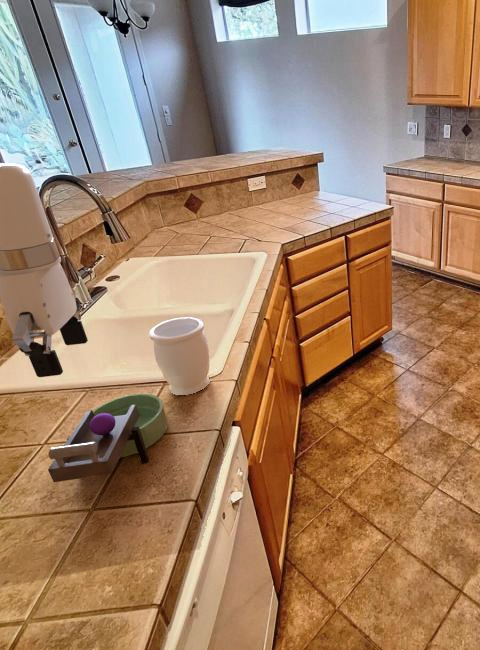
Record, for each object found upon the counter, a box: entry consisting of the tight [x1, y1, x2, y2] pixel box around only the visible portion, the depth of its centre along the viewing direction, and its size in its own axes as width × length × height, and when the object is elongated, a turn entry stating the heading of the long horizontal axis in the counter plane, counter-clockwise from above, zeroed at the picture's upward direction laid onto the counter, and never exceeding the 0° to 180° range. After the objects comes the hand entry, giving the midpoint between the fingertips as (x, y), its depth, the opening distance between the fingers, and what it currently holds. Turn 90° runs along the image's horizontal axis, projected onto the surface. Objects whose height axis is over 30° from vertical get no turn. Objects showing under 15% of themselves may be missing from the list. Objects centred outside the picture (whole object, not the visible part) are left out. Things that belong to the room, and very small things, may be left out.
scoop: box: [47, 405, 139, 483], centre depth 70 cm, size 8×14×6 cm, turn 13°
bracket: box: [66, 426, 150, 465], centre depth 74 cm, size 11×1×8 cm, turn 103°
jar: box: [148, 316, 211, 396], centre depth 94 cm, size 11×10×15 cm
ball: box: [90, 413, 116, 435], centre depth 72 cm, size 4×4×4 cm
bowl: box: [92, 392, 169, 459], centre depth 81 cm, size 13×13×5 cm
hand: (64, 358), depth 68 cm, fingers open, 9 cm apart
